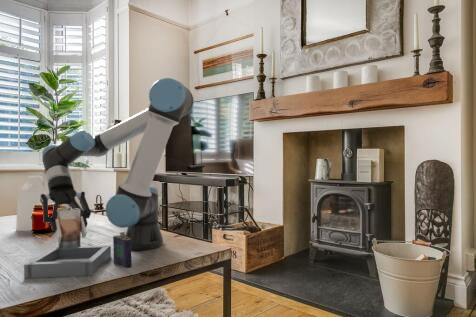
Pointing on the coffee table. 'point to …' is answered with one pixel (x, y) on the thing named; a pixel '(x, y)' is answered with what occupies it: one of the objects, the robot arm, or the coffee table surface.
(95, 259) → the tray
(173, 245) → the coffee table surface
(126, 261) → the flask
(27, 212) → the milk
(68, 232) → the glass with pinkish-brown filling
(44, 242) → the coffee table surface
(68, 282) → the coffee table surface
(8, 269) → the coffee table surface
